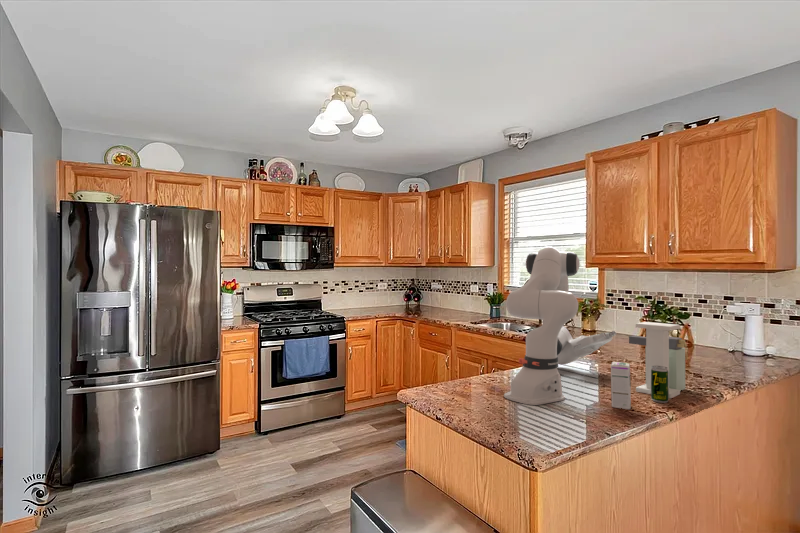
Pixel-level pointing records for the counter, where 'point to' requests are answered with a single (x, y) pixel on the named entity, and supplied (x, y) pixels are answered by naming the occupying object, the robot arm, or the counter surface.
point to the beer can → (659, 384)
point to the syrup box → (620, 385)
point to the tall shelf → (656, 351)
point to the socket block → (676, 369)
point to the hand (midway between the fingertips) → (610, 333)
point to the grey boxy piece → (673, 342)
